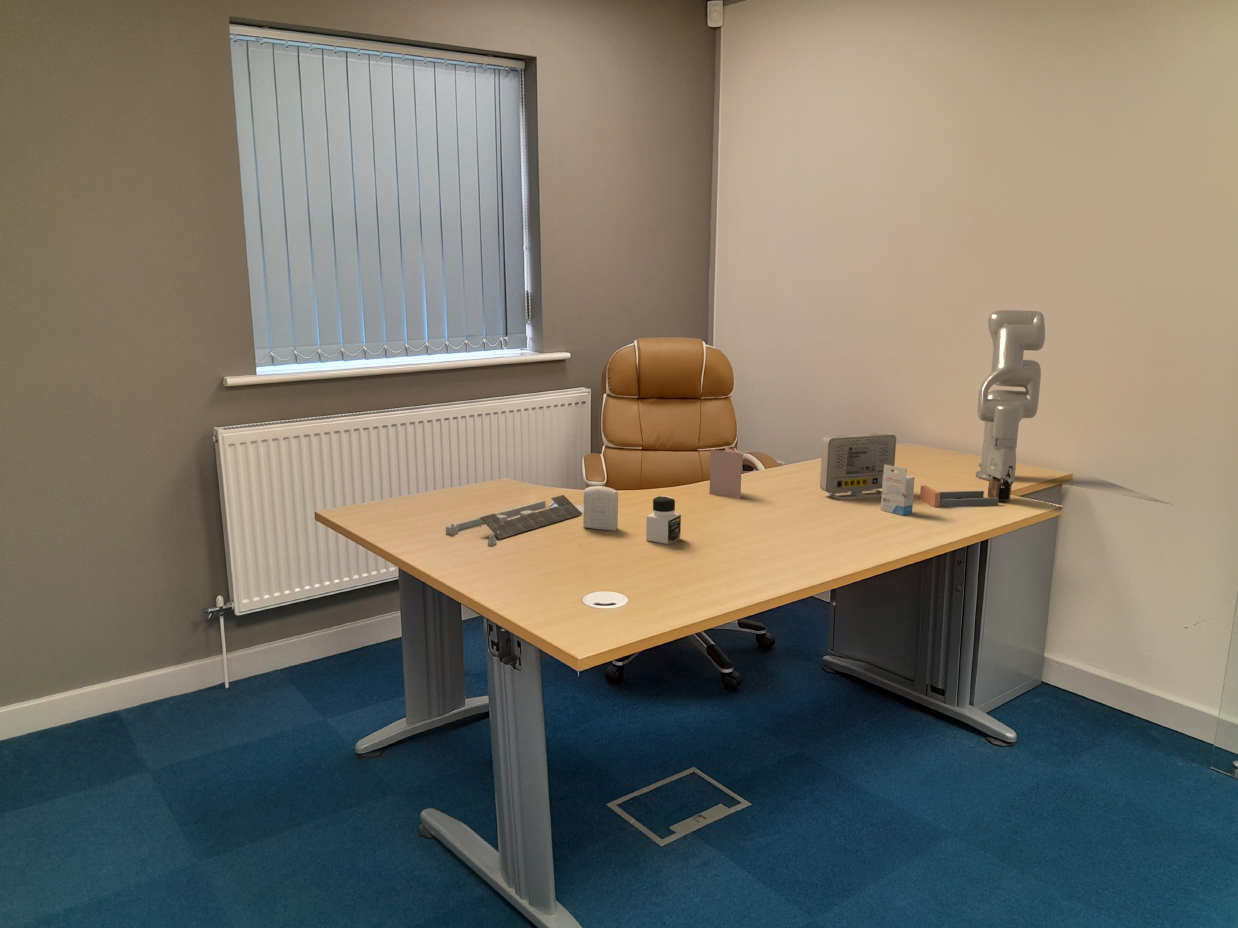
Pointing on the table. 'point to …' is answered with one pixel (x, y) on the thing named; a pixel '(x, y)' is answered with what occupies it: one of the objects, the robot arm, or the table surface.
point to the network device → (856, 463)
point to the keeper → (995, 488)
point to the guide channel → (949, 497)
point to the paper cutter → (521, 518)
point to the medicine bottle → (663, 521)
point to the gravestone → (600, 508)
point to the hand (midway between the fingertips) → (998, 496)
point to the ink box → (897, 491)
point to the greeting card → (725, 473)
